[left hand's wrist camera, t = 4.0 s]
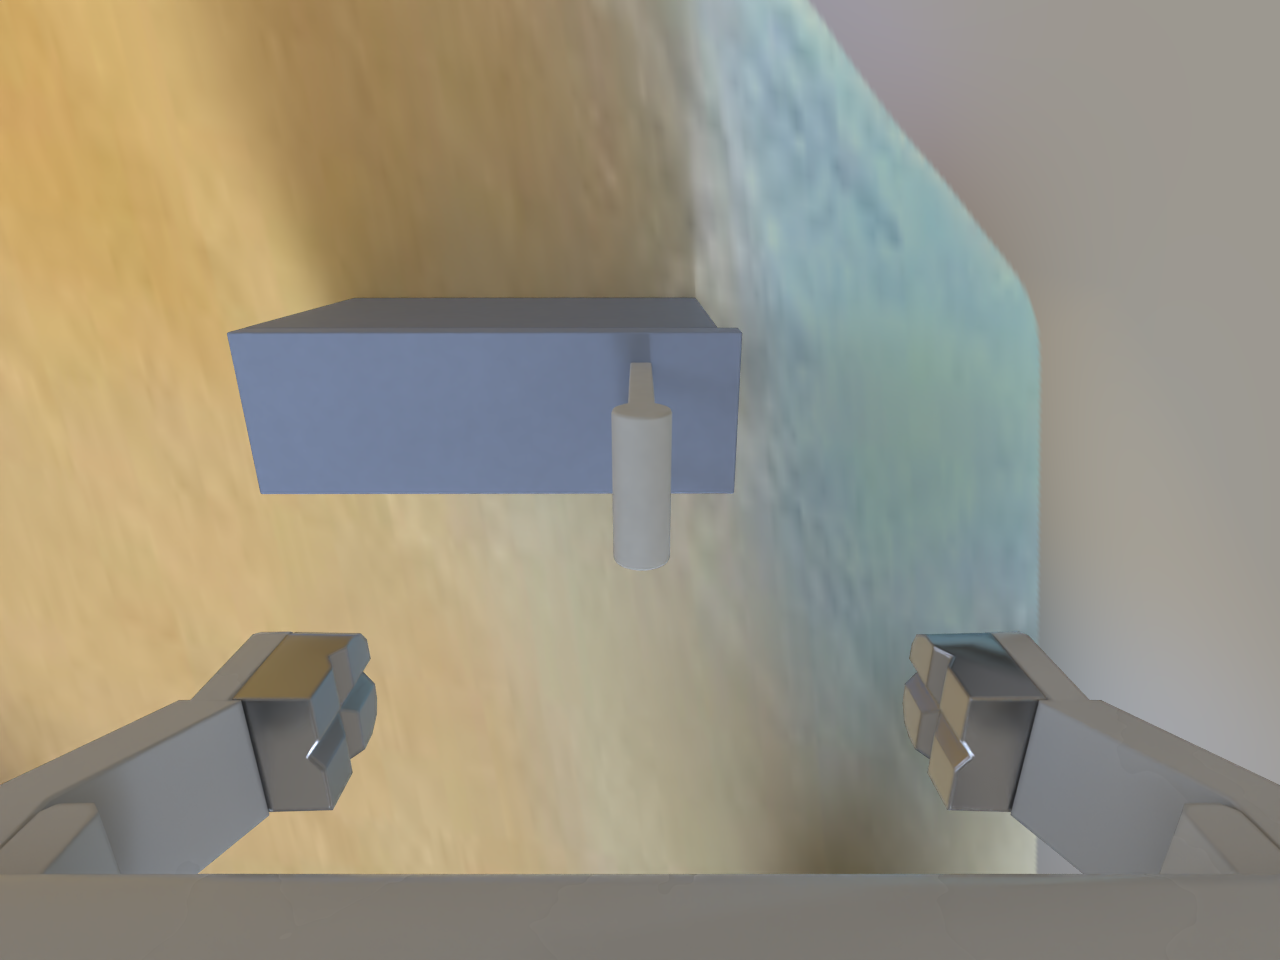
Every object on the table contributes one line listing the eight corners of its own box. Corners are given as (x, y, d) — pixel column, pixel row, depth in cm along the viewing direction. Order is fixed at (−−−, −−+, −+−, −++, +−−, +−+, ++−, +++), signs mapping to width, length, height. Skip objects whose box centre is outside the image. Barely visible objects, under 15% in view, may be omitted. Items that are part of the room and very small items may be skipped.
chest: (696, 297, 32) (718, 327, 23) (692, 414, 34) (712, 483, 25) (353, 297, 32) (243, 327, 23) (370, 414, 34) (274, 484, 25)
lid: (738, 327, 23) (788, 380, 15) (730, 483, 25) (771, 600, 17) (242, 327, 23) (43, 382, 15) (274, 484, 25) (111, 601, 17)
